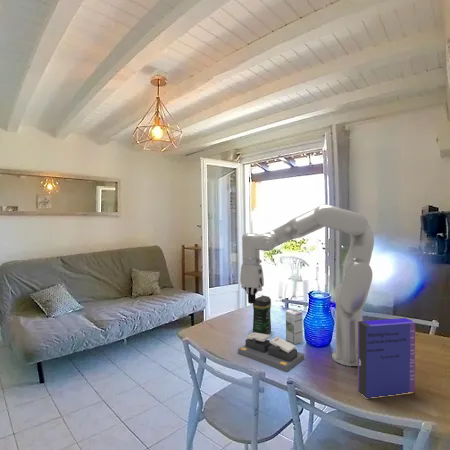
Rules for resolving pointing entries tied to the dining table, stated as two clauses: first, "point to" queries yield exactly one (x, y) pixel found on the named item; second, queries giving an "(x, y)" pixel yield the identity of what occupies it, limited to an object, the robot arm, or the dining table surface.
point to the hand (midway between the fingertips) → (251, 302)
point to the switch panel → (270, 359)
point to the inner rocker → (282, 344)
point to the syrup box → (294, 326)
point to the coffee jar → (262, 315)
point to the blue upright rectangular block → (386, 357)
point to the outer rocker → (259, 336)
